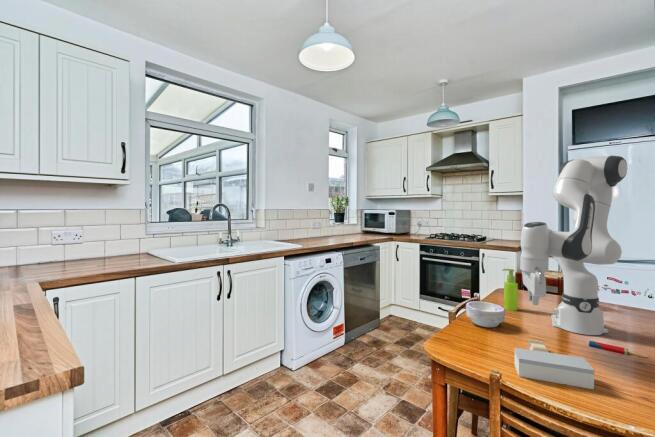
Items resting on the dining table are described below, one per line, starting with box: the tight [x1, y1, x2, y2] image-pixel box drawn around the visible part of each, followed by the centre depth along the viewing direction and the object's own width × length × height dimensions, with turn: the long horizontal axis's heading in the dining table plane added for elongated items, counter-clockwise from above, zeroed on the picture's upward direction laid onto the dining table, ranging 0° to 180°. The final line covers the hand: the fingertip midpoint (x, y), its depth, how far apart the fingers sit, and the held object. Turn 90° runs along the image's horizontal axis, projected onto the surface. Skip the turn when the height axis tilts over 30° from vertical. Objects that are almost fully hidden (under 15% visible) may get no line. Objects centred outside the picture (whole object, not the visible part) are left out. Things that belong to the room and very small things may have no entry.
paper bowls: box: [465, 300, 506, 328], centre depth 138 cm, size 15×15×8 cm
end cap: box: [513, 347, 595, 390], centre depth 95 cm, size 8×18×5 cm, turn 67°
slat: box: [528, 339, 550, 353], centre depth 107 cm, size 16×4×3 cm, turn 158°
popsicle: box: [588, 340, 648, 359], centre depth 111 cm, size 4×2×15 cm
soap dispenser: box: [501, 268, 519, 312], centre depth 159 cm, size 6×7×20 cm
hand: (533, 302), depth 118 cm, fingers open, 4 cm apart
